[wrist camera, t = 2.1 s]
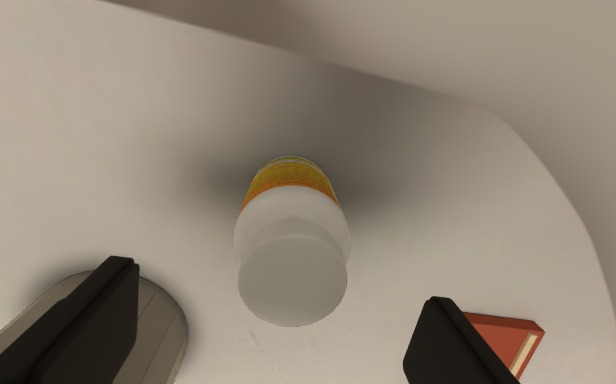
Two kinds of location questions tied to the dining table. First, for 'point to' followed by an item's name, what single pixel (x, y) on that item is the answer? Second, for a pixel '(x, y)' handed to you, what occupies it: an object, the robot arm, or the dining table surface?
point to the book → (509, 339)
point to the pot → (150, 331)
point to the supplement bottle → (291, 244)
